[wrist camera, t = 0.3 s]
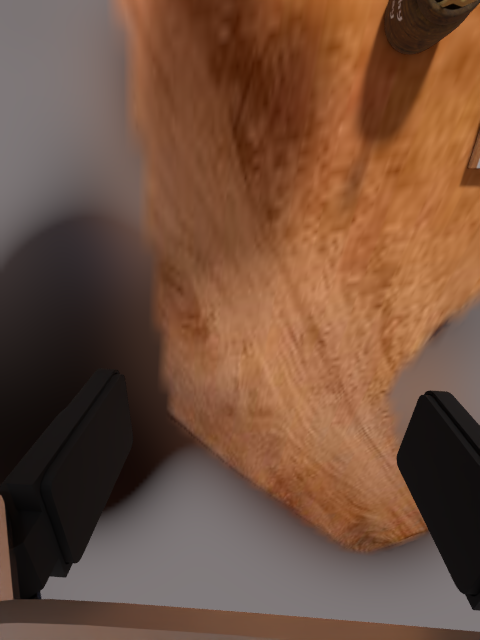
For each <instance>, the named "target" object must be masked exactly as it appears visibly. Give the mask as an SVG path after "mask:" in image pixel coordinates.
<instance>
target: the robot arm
mask: <svg viewBox="0 0 480 640" xmlns="http://www.w3.org/2000/svg"><path fill="white" fill-rule="evenodd" d="M132 442H133V434H132V426H131V419H130V412H129V404H128V397H127V390H126V383H125V377H124V375H120V373H119V371H118V370H114V369H98V370H96V372H95V373H94V374H93V375H92V377H91V378H90V379H89V380H88V382H87V383H86V384H85V385H84V387H83V388H82V389H81V390H80V392H79V393H78V394H77V395H76V397H75V398H74V399H73V400H72V401H71V403H70V404H69V405H68V406H67V408H66V409H65V410H63V411H61V412H60V414H58V415H57V417H56V418H55V419H54V420H53V422H52V423H51V424H50V425H49V427H48V428H47V429H46V430H45V431H44V433H43V434H42V435H41V436H40V438H39V439H38V440H37V441H36V443H35V444H34V445H33V446H32V447H31V449H30V450H29V451H28V452H27V454H26V455H25V456H24V457H23V458H22V460H21V461H20V462H19V463H18V465H17V466H16V467H15V468H14V470H13V471H12V472H11V473H10V474H9V476H8V477H7V478H6V479H5V481H4V482H3V483H2V484H1V485H0V640H480V632H474V631H463V630H451V629H440V628H428V627H417V626H405V625H393V624H382V623H370V622H358V621H346V620H334V619H322V618H309V617H297V616H284V615H271V614H259V613H247V612H234V611H221V610H208V609H195V608H181V607H168V606H155V605H140V604H128V603H111V602H93V601H92V602H91V601H75V600H55V599H41V593H40V590H42V589H43V588H44V586H45V584H46V582H47V580H48V578H49V576H54V577H66V576H67V574H68V572H69V570H70V568H71V566H72V564H73V563H77V562H79V560H80V559H81V557H82V555H83V553H84V551H85V549H86V547H87V544H88V542H89V540H90V538H91V536H92V533H93V531H94V529H95V527H96V524H97V522H98V520H99V518H100V516H101V513H102V511H103V509H104V507H105V505H106V502H107V500H108V498H109V496H110V493H111V491H112V489H113V487H114V484H115V482H116V480H117V478H118V476H119V473H120V471H121V469H122V467H123V465H124V462H125V460H126V458H127V456H128V454H129V451H130V449H131V446H132ZM397 465H398V468H399V470H400V472H401V474H402V476H403V478H404V480H405V482H406V484H407V486H408V488H409V490H410V493H411V495H412V497H413V499H414V501H415V503H416V505H417V507H418V509H419V511H420V513H421V515H422V517H423V519H424V521H425V523H426V525H427V527H428V530H429V532H430V534H431V536H432V538H433V540H434V542H435V544H436V546H437V548H438V550H439V552H440V554H441V556H442V558H443V560H444V562H445V564H446V566H447V568H448V571H449V573H450V574H451V577H452V579H453V581H454V583H455V585H456V586H457V588H458V589H459V591H460V592H462V593H463V594H465V595H466V597H467V599H468V601H469V603H470V605H471V607H472V609H473V610H480V425H478V423H477V422H476V421H475V420H474V419H473V418H472V416H471V415H470V414H469V413H468V412H467V411H466V410H465V409H464V407H463V406H462V405H461V404H460V403H459V402H458V401H457V400H456V398H455V397H454V396H453V395H452V394H451V393H449V392H443V391H427V392H425V394H424V395H421V396H420V397H419V399H418V401H417V404H416V407H415V409H414V412H413V415H412V417H411V420H410V422H409V425H408V428H407V430H406V433H405V435H404V438H403V441H402V443H401V446H400V449H399V451H398V454H397Z"/></svg>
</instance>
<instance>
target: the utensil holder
mask: <svg viewBox="0 0 480 640" xmlns="http://www.w3.org/2000/svg"><path fill="white" fill-rule="evenodd" d="M479 3H480V0H389V2H388V5H387V8H386V13H385V33H386V36H387V39H388V41H389V43H390V44H391V46H392V47H393V48H394V49H395V50H397V51H399V52H401V53H404V54H416V53H419V52H422V51H424V50H426V49H428V48H430V47H431V46H433V45H434V44H436V43H437V42H439V41H440V40H441V39H443V38H444V37H446V36H447V35H448V34H450V33H451V32H452V31H453V30H454V29H456V28H457V27H458V26H459V25H460V24H461V23H462V22H463V21H464V20H465V18H466V17H467V16H468V15H469V13H470V12H471V11H472V10H473V9H474V8H475V7H476V6H477V5H478V4H479Z"/></svg>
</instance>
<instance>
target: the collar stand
mask: <svg viewBox="0 0 480 640" xmlns="http://www.w3.org/2000/svg"><path fill="white" fill-rule="evenodd" d="M468 168H476V169H480V131H479V134H478V137H477V140H476V143H475V146H474V149H473V152H472V156H471V159H470V162H469V165H468Z"/></svg>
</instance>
